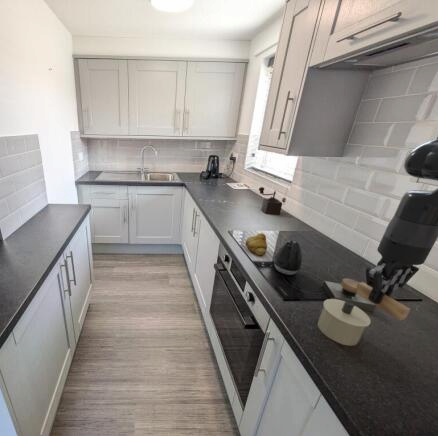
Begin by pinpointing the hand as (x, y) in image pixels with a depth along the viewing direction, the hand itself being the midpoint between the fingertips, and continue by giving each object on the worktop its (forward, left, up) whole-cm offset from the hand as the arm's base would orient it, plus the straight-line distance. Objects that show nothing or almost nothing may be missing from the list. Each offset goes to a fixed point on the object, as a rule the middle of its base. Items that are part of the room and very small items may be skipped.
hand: (377, 300), depth 57 cm
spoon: (0, -1, -1) cm, 1 cm away
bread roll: (+18, -55, -19) cm, 61 cm away
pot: (0, -8, -19) cm, 20 cm away
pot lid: (0, -8, -11) cm, 14 cm away
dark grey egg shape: (+8, -39, -19) cm, 44 cm away
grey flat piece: (-10, -27, -19) cm, 34 cm away
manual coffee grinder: (+2, -124, -19) cm, 126 cm away
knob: (-10, -27, -16) cm, 33 cm away
